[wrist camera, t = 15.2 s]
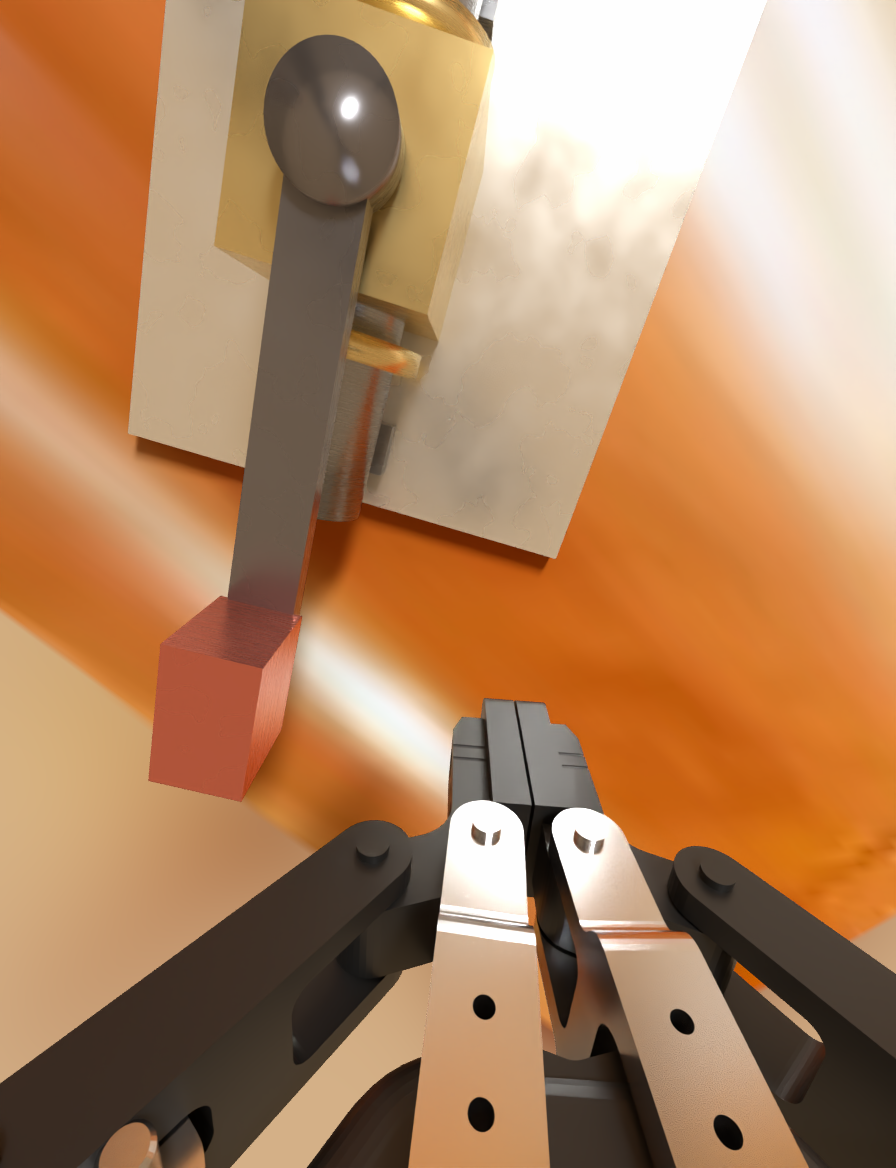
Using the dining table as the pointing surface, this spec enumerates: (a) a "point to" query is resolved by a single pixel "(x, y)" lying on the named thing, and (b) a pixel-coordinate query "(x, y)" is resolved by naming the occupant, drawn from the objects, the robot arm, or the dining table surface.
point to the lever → (284, 416)
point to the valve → (438, 239)
